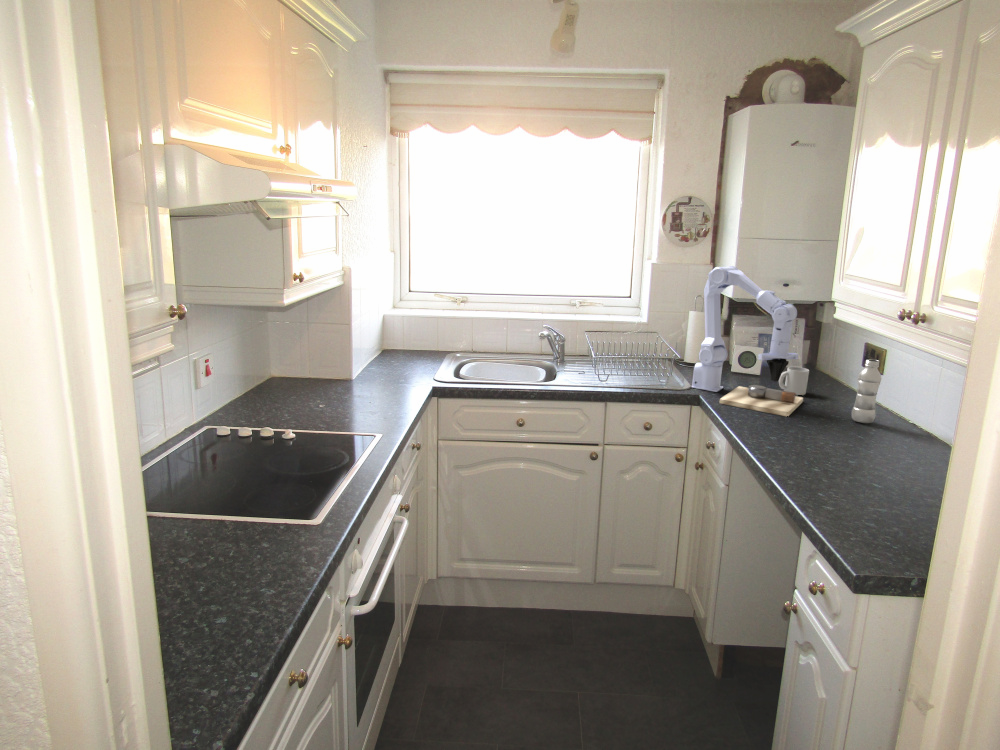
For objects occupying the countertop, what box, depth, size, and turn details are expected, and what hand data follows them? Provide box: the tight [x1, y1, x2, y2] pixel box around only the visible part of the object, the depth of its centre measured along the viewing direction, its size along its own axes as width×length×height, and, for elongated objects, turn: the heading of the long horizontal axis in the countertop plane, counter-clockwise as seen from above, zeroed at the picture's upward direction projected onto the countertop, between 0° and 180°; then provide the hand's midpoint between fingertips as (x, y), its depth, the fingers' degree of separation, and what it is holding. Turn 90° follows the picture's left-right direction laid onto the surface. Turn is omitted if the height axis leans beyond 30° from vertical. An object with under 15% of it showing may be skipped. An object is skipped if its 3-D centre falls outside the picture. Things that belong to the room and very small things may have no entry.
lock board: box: [718, 385, 804, 417], centre depth 233 cm, size 22×22×2 cm
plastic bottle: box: [851, 358, 882, 424], centre depth 213 cm, size 6×7×20 cm
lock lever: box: [748, 384, 797, 403], centre depth 232 cm, size 15×6×3 cm, turn 58°
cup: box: [778, 366, 810, 396], centre depth 246 cm, size 7×10×9 cm
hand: (774, 380), depth 230 cm, fingers closed
